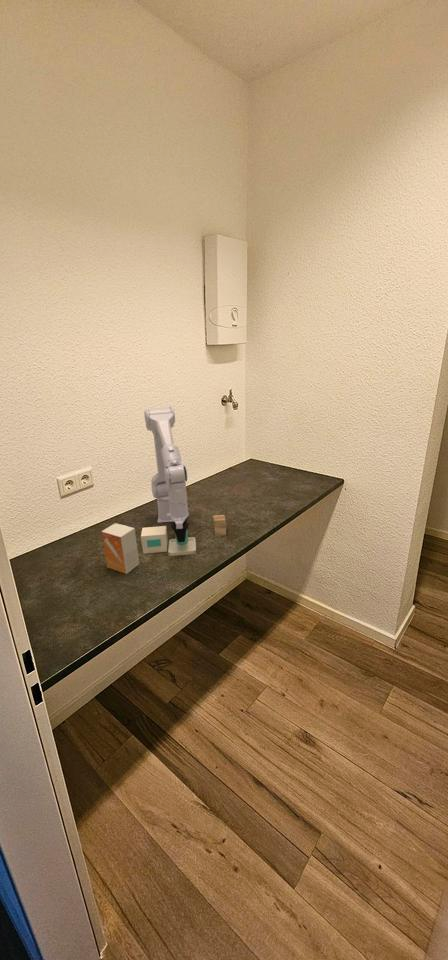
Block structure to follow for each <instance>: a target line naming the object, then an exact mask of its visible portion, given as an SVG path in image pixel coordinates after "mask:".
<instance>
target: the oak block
mask: <svg viewBox="0 0 448 960" xmlns="http://www.w3.org/2000/svg"><path fill="white" fill-rule="evenodd" d="M212 517H213V531H214V536H215V537H218V536H219V537H220V536H227V526H226V525H227V524H226V523H227V522H226V516H225V514H219V515H217V514H216V515H213V516H212Z"/></svg>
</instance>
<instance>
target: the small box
mask: <svg viewBox="0 0 448 960" xmlns="http://www.w3.org/2000/svg"><path fill="white" fill-rule="evenodd" d="M100 533H101V538H102V544H103V551H104V555H105V562H106V567H107V569H112V570H114V571H117V572H120V573H123V574H125V575H127V574H129V573H130V572H131V571H132V570H133V569H135V568H136V567H138V566H139V565H140V557H139V550H138V544H137V536H136V535H137V534H136V529H135V527H131V526H128V525H124V524H121V523H120V524H119V523H117V522H115V523H112V524H111V525H110V526H108V527H106V528H105V529H103V530H101V532H100Z"/></svg>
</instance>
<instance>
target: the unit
mask: <svg viewBox="0 0 448 960" xmlns="http://www.w3.org/2000/svg"><path fill="white" fill-rule="evenodd" d="M140 539H141V540H140V541H141V548H142V554H156V553H168V550H169V539H168V530H167V525H162V526H161V525H159V526H152V527H151V526H147V527H142V530H141V534H140Z"/></svg>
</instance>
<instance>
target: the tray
mask: <svg viewBox="0 0 448 960" xmlns="http://www.w3.org/2000/svg"><path fill="white" fill-rule="evenodd" d="M196 544H197V543H196V537H195V536H194V537H193V536H192V537H188V543H187V544H185V545H178V544H177V543H176V538H172V539H171V538H170V539H168V550H167V553H168V557H173V556H174V557H175V556H186V555H196V554H197V546H196Z"/></svg>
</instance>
